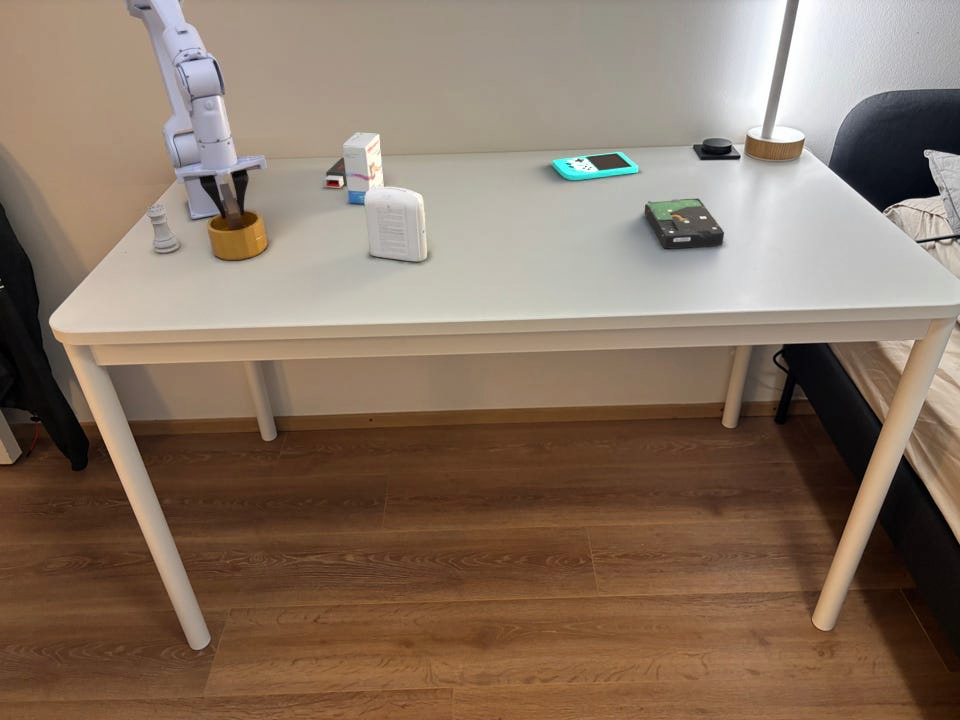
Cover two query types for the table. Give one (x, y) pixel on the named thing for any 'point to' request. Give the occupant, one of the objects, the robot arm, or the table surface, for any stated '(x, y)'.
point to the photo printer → (396, 223)
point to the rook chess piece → (162, 231)
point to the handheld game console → (594, 166)
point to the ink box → (362, 165)
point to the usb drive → (336, 175)
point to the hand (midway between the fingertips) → (232, 214)
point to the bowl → (237, 237)
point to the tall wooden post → (231, 208)
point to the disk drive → (683, 223)
